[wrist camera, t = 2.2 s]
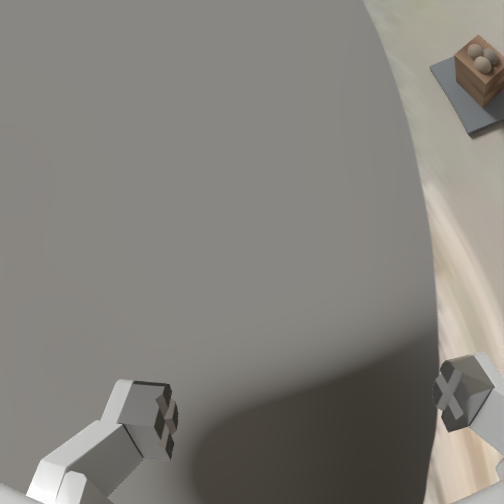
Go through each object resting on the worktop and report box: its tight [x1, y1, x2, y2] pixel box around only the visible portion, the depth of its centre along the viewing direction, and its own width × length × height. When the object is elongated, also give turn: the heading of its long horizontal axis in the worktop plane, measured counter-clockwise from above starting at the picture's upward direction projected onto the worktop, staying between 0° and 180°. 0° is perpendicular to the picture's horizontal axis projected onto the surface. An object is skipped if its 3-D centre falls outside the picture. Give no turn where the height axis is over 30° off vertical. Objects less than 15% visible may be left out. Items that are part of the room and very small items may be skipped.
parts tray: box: [430, 57, 504, 135], centre depth 33 cm, size 12×12×1 cm
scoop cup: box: [454, 35, 504, 108], centre depth 29 cm, size 6×6×9 cm
